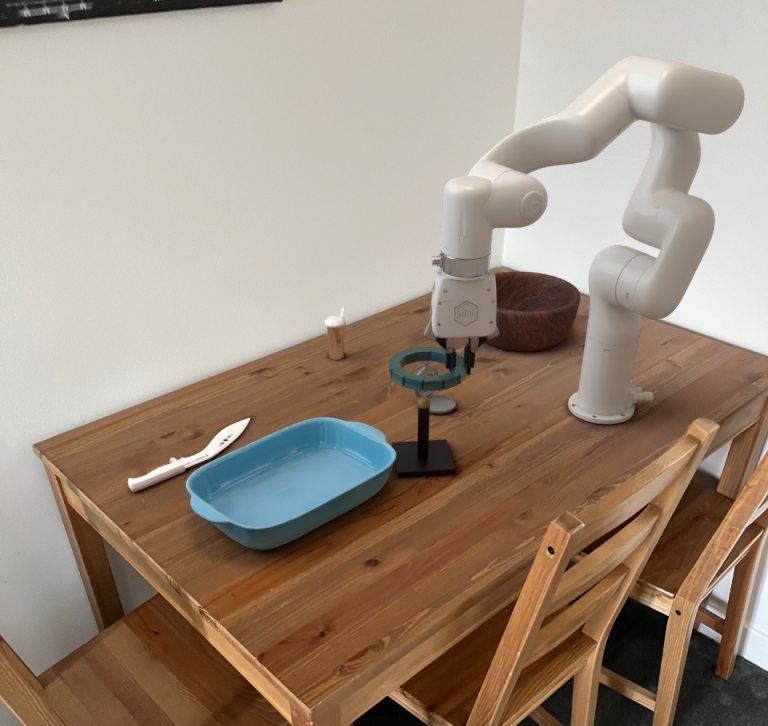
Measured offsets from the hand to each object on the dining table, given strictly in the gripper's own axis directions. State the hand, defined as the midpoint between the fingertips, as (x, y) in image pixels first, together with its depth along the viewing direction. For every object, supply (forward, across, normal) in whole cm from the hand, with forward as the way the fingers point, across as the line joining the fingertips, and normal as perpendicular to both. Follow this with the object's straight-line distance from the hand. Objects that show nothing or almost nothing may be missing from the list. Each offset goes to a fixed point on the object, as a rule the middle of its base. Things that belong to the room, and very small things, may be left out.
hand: (459, 371), depth 142 cm
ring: (0, -5, 0) cm, 5 cm away
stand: (+18, -6, 0) cm, 19 cm away
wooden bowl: (+17, +24, +51) cm, 59 cm away
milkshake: (+18, -18, +44) cm, 51 cm away
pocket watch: (+18, 0, +20) cm, 27 cm away
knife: (+18, -46, +7) cm, 50 cm away
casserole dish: (+18, -28, -10) cm, 35 cm away
